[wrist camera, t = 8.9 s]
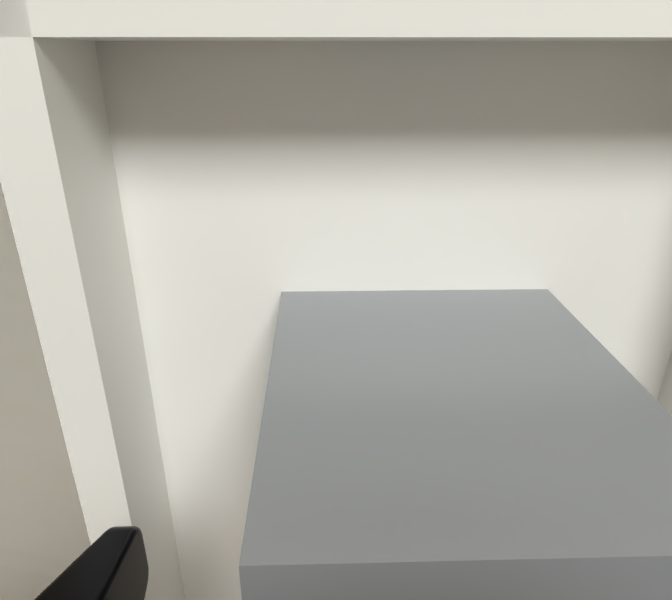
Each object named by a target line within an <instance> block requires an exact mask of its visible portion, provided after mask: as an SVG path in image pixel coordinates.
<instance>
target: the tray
mask: <svg viewBox="0 0 672 600" xmlns="http://www.w3.org/2000/svg"><path fill="white" fill-rule="evenodd" d="M0 182H1V186H2V190H3V194H4V198H5V202H6V206H7V210H8V214H9V218H10V222H11V226H12V230H13V234H14V238H15V242H16V246H17V250H18V254H19V258H20V262H21V266H22V270H23V274H24V278H25V282H26V286H27V290H28V294H29V298H30V302H31V306H32V310H33V314H34V318H35V322H36V326H37V330H38V334H39V338H40V342H41V346H42V350H43V354H44V358H45V362H46V366H47V371H48V375H49V379H50V383H51V387H52V391H53V395H54V399H55V403H56V407H57V411H58V415H59V419H60V423H61V427H62V431H63V435H64V439H65V443H66V447H67V451H68V455H69V459H70V463H71V467H72V471H73V475H74V479H75V483H76V487H77V491H78V495H79V499H80V503H81V507H82V511H83V515H84V519H85V523H86V527H87V531H88V535H89V539H90V543H91V545H92V544H93V543H94V542H95V541H96V540H97V539H98V538H99V537H100V536H101V535H102V534H103V533H104V532H105V531H106V530H108V529H109V528H111V527H115V526H136V527H139V528H140V530H141V532H142V535H143V540H144V546H145V551H146V556H147V561H148V567H149V576H148V584H147V589H146V594H145V598H144V600H242V595H241V585H240V575H239V561H240V554H241V548H242V541H243V535H244V528H245V522H246V516H247V509H248V503H249V496H250V490H251V483H252V477H253V471H254V464H255V458H256V451H257V445H258V438H259V432H260V426H261V419H262V413H263V406H264V400H265V394H266V387H267V381H268V374H269V368H270V361H271V355H272V349H273V342H274V336H275V329H276V323H277V316H278V310H279V304H280V297H281V292H292V291H400V290H507V289H548V290H549V291H550V292H551V293H552V294H553V295H554V296H555V297H556V298H557V299H558V300H559V301H560V302H561V303H562V304H563V305H564V306H565V307H566V308H567V309H568V310H569V311H570V312H571V313H572V314H573V315H574V316H575V318H576V319H577V320H578V321H579V322H580V323H581V324H582V325H583V326H584V327H585V328H586V329H587V330H588V331H589V332H590V333H591V334H592V335H593V336H594V337H595V338H596V339H597V340H598V341H599V342H600V343H601V344H602V345H603V346H604V347H605V348H606V349H607V350H608V351H609V352H610V353H611V354H612V355H613V356H614V357H615V358H616V359H617V360H618V361H619V362H620V363H621V364H622V365H623V366H624V367H625V368H626V369H627V370H628V371H629V372H630V373H631V374H632V375H633V376H634V377H635V378H636V380H637V381H638V382H639V383H640V384H641V385H642V386H643V387H644V388H645V389H646V390H647V391H648V392H649V393H650V394H651V395H652V396H653V397H654V398H655V399H656V400H657V401H658V402H659V403H660V404H661V405H662V406H663V407H664V408H665V409H666V410H667V411H668V412H669V413H670V414H671V415H672V0H0Z"/></svg>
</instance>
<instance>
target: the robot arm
mask: <svg viewBox="0 0 672 600" xmlns="http://www.w3.org/2000/svg"><path fill="white" fill-rule="evenodd" d="M148 576H149V567H148V561H147V556H146V551H145V546H144V540H143V535H142V532H141V530H140V528H139V527H136V526H115V527H111V528H109V529H108V530H106V531H105V532H104V533H103V534H102V535H101V536H100V537H99V538H98V539H97V540H96V541H95V542H94V543H93V544H92V545H91V546H90V547H89V548H87V549H86V550H85V551H84V552H83V553H82V554H81V555H80V556H79V557H78V558H77V559H76V560H75V561H74V562H73V563H72V564H71V565H70V566H69V567H68V568H67V569H66V570H65V571H64V572H63V573H62V574H60V575H59V576H58V577H57V578H56V579H55V580H54V581H53V582H52V583H51V584H50V585H49V586H48V587H47V588H46V589H45V590H44V591H43V592H42V593H41V594H40V595H39V596H38V597H37V598H36V599H35V600H144V598H145V594H146V589H147V584H148Z"/></svg>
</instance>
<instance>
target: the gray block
mask: <svg viewBox="0 0 672 600" xmlns="http://www.w3.org/2000/svg"><path fill="white" fill-rule="evenodd" d="M239 575H240V585H241V595H242V600H672V415H671V414H670V413H669V412H668V411H667V410H666V409H665V408H664V407H663V406H662V405H661V404H660V403H659V402H658V401H657V400H656V399H655V398H654V397H653V396H652V395H651V394H650V393H649V392H648V391H647V390H646V389H645V388H644V387H643V386H642V385H641V384H640V383H639V382H638V381H637V380H636V378H635V377H634V376H633V375H632V374H631V373H630V372H629V371H628V370H627V369H626V368H625V367H624V366H623V365H622V364H621V363H620V362H619V361H618V360H617V359H616V358H615V357H614V356H613V355H612V354H611V353H610V352H609V351H608V350H607V349H606V348H605V347H604V346H603V345H602V344H601V343H600V342H599V341H598V340H597V339H596V338H595V337H594V336H593V335H592V334H591V333H590V332H589V331H588V330H587V329H586V328H585V327H584V326H583V325H582V324H581V323H580V322H579V321H578V320H577V319H576V318H575V316H574V315H573V314H572V313H571V312H570V311H569V310H568V309H567V308H566V307H565V306H564V305H563V304H562V303H561V302H560V301H559V300H558V299H557V298H556V297H555V296H554V295H553V294H552V293H551V292H550V291H549V290H548V289H507V290H400V291H292V292H281V297H280V304H279V310H278V316H277V323H276V329H275V336H274V342H273V349H272V355H271V361H270V368H269V374H268V381H267V387H266V394H265V400H264V406H263V413H262V419H261V426H260V432H259V438H258V445H257V451H256V458H255V464H254V471H253V477H252V483H251V490H250V496H249V503H248V509H247V516H246V522H245V528H244V535H243V541H242V548H241V554H240V561H239Z"/></svg>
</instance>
